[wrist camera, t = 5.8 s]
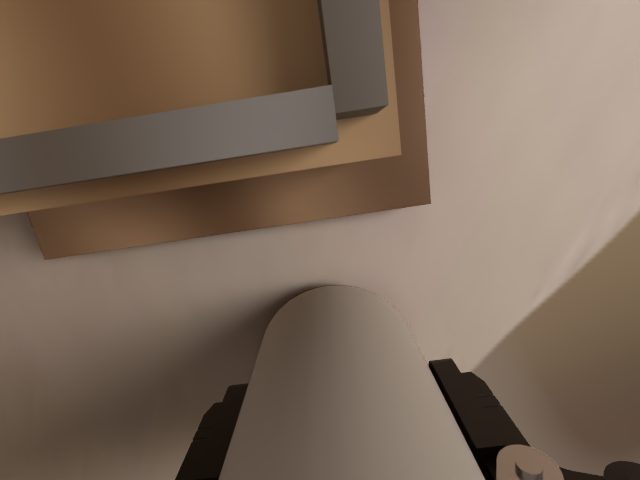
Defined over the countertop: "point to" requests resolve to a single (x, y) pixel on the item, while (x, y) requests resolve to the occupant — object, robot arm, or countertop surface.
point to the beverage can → (344, 399)
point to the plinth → (206, 116)
